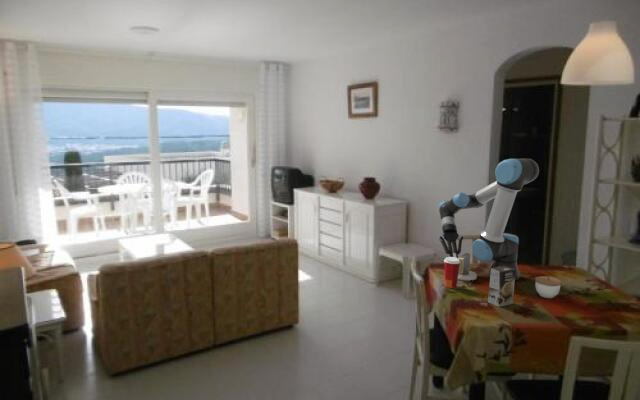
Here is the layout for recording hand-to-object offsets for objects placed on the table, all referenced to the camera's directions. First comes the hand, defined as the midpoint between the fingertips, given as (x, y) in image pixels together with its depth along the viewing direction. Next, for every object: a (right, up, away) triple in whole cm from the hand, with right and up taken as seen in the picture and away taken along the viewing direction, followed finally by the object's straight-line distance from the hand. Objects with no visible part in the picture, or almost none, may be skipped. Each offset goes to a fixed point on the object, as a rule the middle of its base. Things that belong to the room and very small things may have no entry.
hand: (455, 265), depth 234 cm
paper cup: (-6, -9, -11) cm, 15 cm away
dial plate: (+5, -6, +4) cm, 9 cm away
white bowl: (+36, -11, -22) cm, 44 cm away
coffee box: (+11, -13, -32) cm, 36 cm away
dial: (+5, -5, +4) cm, 8 cm away
